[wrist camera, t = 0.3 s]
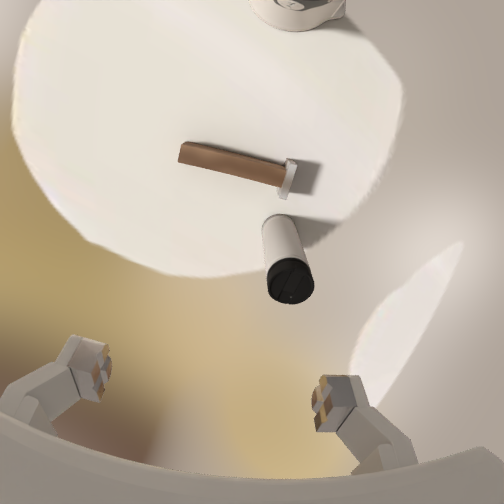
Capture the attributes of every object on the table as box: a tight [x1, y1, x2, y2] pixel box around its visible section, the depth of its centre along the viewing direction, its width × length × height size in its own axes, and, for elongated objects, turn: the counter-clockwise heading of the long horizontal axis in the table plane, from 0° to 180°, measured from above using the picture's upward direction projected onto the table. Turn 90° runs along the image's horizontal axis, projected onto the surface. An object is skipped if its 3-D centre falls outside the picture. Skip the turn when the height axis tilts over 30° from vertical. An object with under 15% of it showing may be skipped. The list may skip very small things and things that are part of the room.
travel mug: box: [262, 214, 314, 304], centre depth 49 cm, size 6×7×20 cm
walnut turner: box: [178, 142, 297, 200], centre depth 50 cm, size 6×19×5 cm, turn 75°
